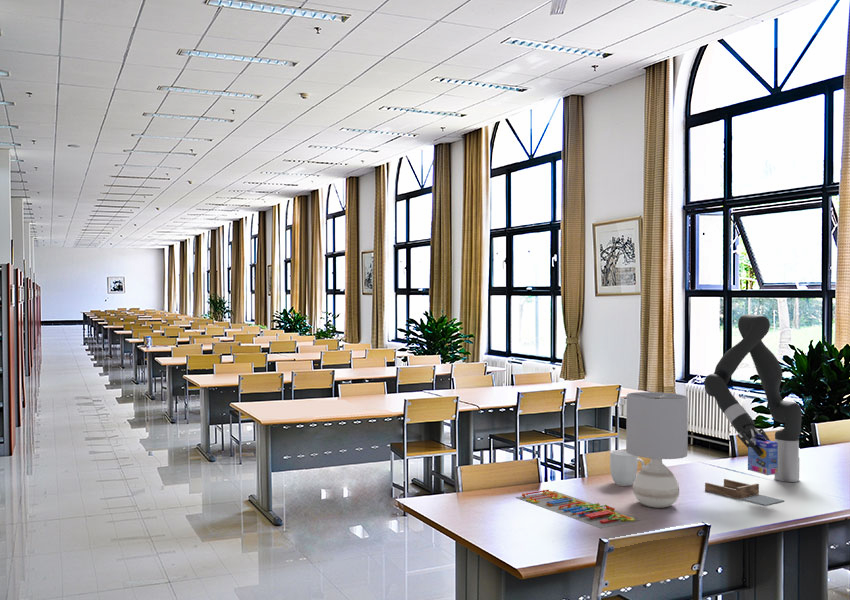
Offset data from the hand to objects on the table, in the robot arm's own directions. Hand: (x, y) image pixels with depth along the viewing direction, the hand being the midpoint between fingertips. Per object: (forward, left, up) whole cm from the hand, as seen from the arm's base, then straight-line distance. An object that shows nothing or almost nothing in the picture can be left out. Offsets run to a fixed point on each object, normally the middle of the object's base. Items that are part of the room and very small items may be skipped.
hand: (766, 453), depth 289 cm
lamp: (+40, -18, -18) cm, 48 cm away
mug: (+25, -46, -18) cm, 56 cm away
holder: (-1, -16, -18) cm, 24 cm away
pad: (0, -1, -18) cm, 18 cm away
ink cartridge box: (0, -2, -8) cm, 8 cm away
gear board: (+69, -31, -19) cm, 78 cm away
